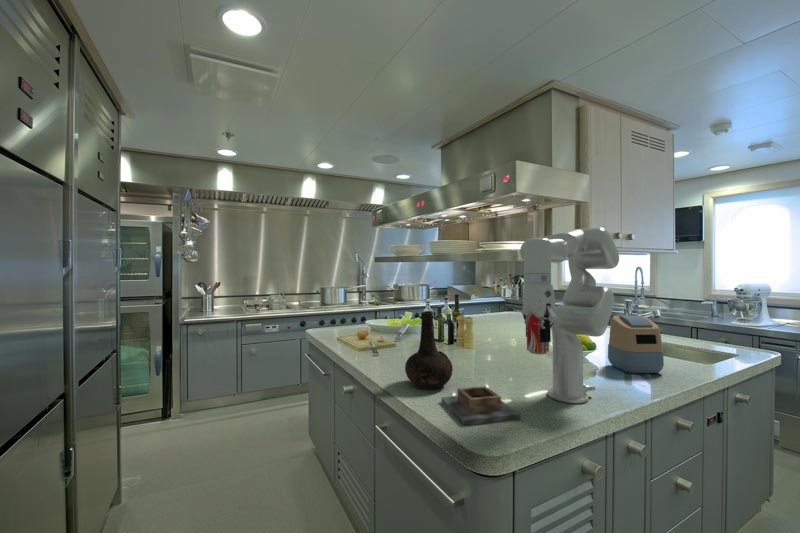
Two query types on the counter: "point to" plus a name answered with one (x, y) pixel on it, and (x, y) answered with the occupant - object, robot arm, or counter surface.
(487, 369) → the counter surface
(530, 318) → the beverage can
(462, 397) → the can holder
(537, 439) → the counter surface
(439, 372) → the dark brown vase
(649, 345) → the tan and blue appliance
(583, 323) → the robot arm
